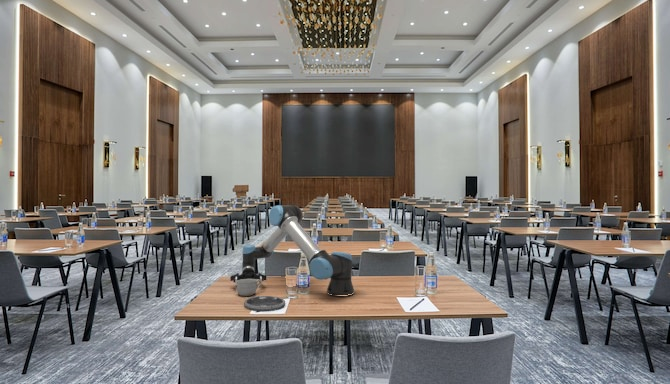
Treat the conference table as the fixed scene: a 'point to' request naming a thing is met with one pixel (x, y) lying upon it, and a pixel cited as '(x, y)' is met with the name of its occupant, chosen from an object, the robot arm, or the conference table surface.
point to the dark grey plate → (264, 303)
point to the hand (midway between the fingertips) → (248, 281)
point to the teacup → (247, 286)
